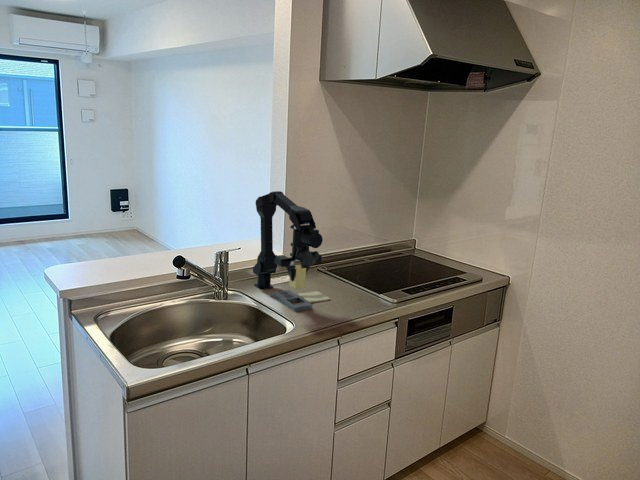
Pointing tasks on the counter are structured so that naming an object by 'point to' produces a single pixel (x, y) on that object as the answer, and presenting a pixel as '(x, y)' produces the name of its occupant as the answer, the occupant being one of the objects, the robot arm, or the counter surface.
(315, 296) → the pale folded cloth
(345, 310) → the counter surface
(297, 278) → the brass block
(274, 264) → the robot arm
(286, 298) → the grey block holder tray
